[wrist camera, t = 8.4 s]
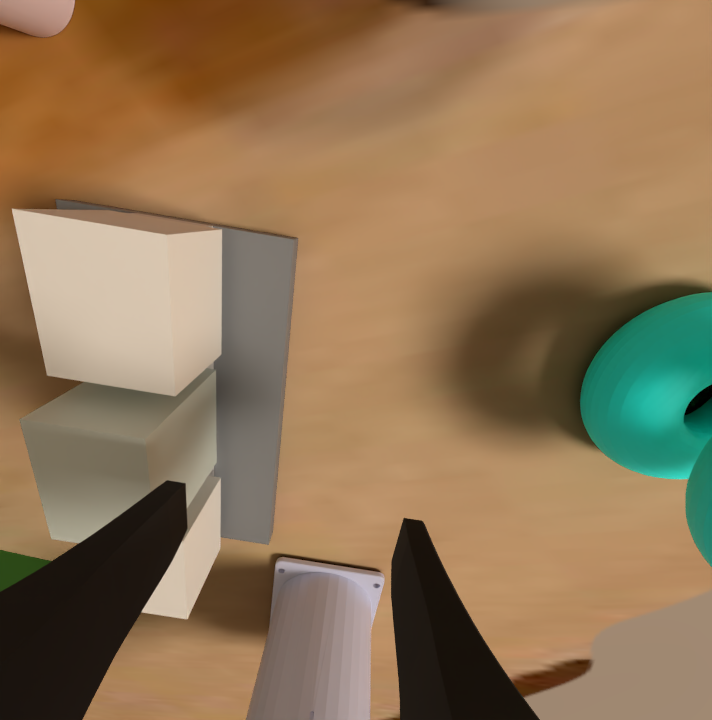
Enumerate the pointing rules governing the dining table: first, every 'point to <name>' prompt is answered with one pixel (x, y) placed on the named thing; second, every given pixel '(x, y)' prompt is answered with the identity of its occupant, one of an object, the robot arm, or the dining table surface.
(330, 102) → the dining table surface
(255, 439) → the plate
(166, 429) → the block
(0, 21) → the smoothie
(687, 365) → the donuts
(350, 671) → the robot arm
